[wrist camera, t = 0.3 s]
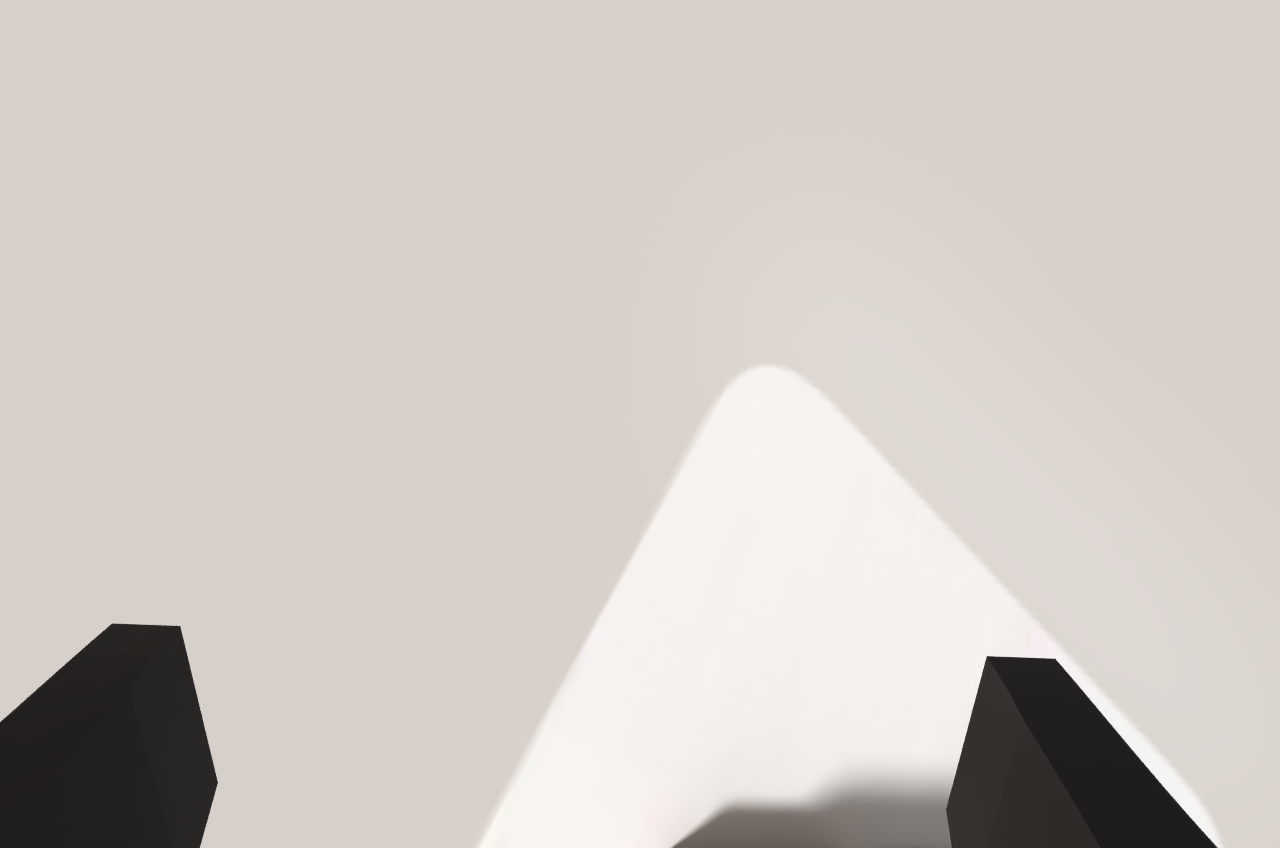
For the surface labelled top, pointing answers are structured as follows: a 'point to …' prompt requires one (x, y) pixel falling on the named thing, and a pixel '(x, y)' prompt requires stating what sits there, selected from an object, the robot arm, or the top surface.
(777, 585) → the top surface
